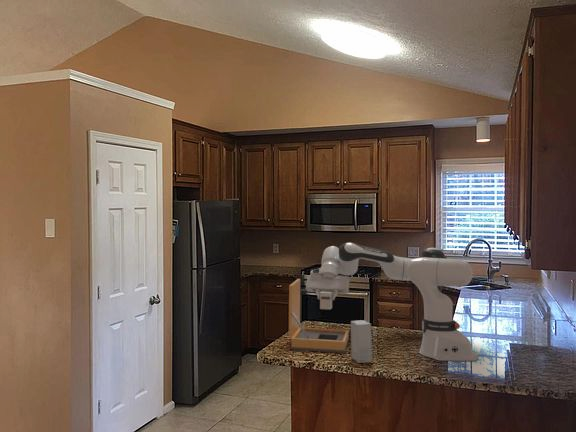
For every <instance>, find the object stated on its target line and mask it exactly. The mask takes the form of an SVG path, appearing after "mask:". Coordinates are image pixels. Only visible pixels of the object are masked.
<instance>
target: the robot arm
mask: <svg viewBox="0 0 576 432" xmlns="http://www.w3.org/2000/svg"><path fill="white" fill-rule="evenodd" d="M360 260H365V261H371V262H375V263H377V264H379V265H380V266H381V268H382V270H383V272H384V274H385V275H386V276H387V277H388V278H389V279H392V280H396V281H410V282H412V283H413V284H414V285H415V286H416V287H417V289H418V290H419V292H420V294H421V296H422V301H423V317H422V327H421V328H422V340H421V345H420V348H419V352H418V353H419V354H420V355H421V356H423V357H427V358H429V359H430V358H431V359H434V360H437V361H445V362H446V361H448V362H449V361H450V362H452V361H453V362H454V361H455V362H456V361H458V362H461V361H462V362H464V361H465V362H467V361H468V362H473V361H474V362H477V360H478V359H479V355H478V353H477V352H476V351H475V350H473V347H472V343H471V341H470V339H469V338H468V337H467V336H466V335H464V333H462V332H461V331H459V330H458V329H460V328H461V326H460V323H458V322H457V321H456V320H454V319H453V308H454V307H453V306H454V304H453V301H452V299H451V298H450V297H449V296H448V295H447V294H445V293H442V290H443V287H463V286H465V287H466V286H468V285H469V284H470V283H471V281H472V279H473V277H474V276H473V274H474V272H473V267H472V266H471V264H470V263H469V262H468V261H465V260H461V259H457V258H448V257H447V256H446V255H445V253H444V252H443V250H440V249H439V248H437V247H428V248H424V249H423V250H422V252H421V254H420V257H414V258H408V257H402V256H398V255H394V254H392V253H391V252H389V251H387V250H382V249H378V248H373V247H370V246H369V247H368V246H364V245H360V244H357V243H356V242H351V241H349V242H348V241H346V242H344V243H343V244H341V245H340V246H339V247H337V246H335V245H332V246H328V247H326V248H325V249H324V250H323V253H322V257H321V262H320V264H321V266H320V267H319V268H314V269H311V270H310V275H309V276H308V277H307V280H306V283H305V289H306V291H307V292H308V293H310V292H311V293H316V296H317V300H320V292H321V291H332V297H331V300H332V301H335V300H336V299H335V298H336V297H337V296H338V294H349V291H350V286H349V284H350V283H351V277H350V276H353V275H355V274H356V273H357V272H358V270H359V268H358V267H359V261H360Z"/></svg>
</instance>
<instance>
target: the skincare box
mask: <svg viewBox="0 0 576 432" xmlns="http://www.w3.org/2000/svg"><path fill="white" fill-rule="evenodd" d="M350 344H351V345H350V347H351V349H350V350H351V352H350V353H351V359H353V360H354V361H355V362H356V363H357V364H360V363H361V364H362V363H363V364H364V363H365V364H366V363H372V362H373V356H372V355H373V352H372V350H373V349H372V347H373V345H372V323H370V322H368V321H366V320H364V319H363V320H361V319H360V320H357V319H356V320H351V321H350Z"/></svg>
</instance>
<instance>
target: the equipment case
mask: <svg viewBox="0 0 576 432" xmlns="http://www.w3.org/2000/svg"><path fill="white" fill-rule="evenodd" d="M288 290H289V292H288V293H289V294H288V339H291V344H290V345H291V348H290V349H291V350H296V351H309V352H310V351H312V352H323V353H324V352H326V353H327V352H328V353H340V354H341V353H343V354H345V353H346V350H347V347H348V344H349V333H350V332H349V329H334V328H317V327H316V328H315V327H304V326H303V325H302V324H301V278H297V279H296V280H295V281H293V282H292V283H291V284H289V287H288Z"/></svg>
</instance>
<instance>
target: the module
mask: <svg viewBox="0 0 576 432" xmlns="http://www.w3.org/2000/svg"><path fill="white" fill-rule="evenodd" d="M319 294H320V299H319V309H320V310H332V309H333V300H331V297H332V295H333V293H332V291H321V292H319Z"/></svg>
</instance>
